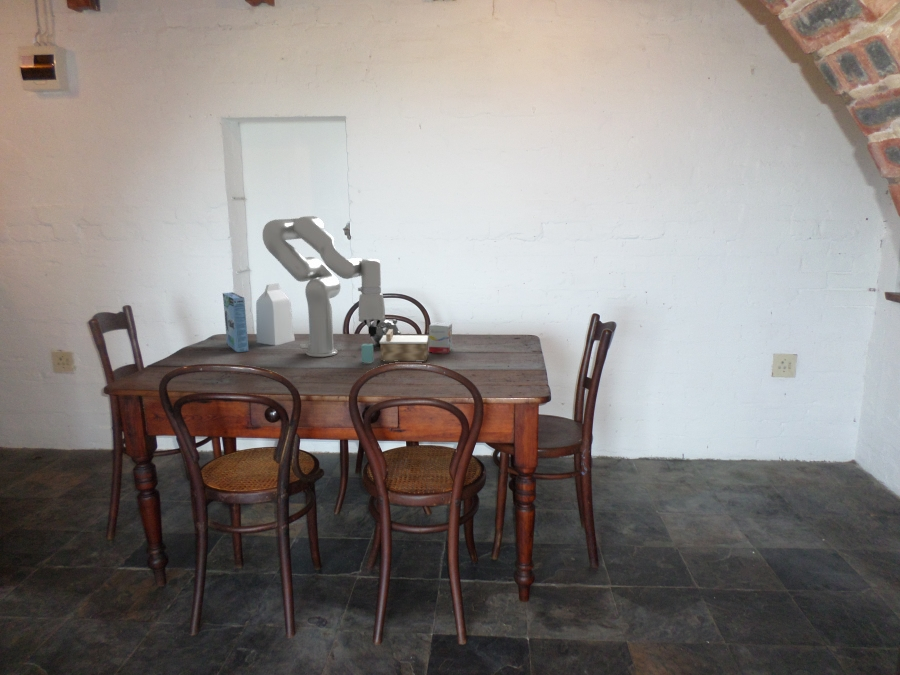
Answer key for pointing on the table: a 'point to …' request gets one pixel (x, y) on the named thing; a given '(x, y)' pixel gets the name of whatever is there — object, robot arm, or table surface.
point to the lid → (403, 339)
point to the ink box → (440, 337)
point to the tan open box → (404, 352)
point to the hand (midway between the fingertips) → (372, 335)
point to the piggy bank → (384, 330)
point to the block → (367, 353)
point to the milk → (274, 317)
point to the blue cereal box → (235, 321)
